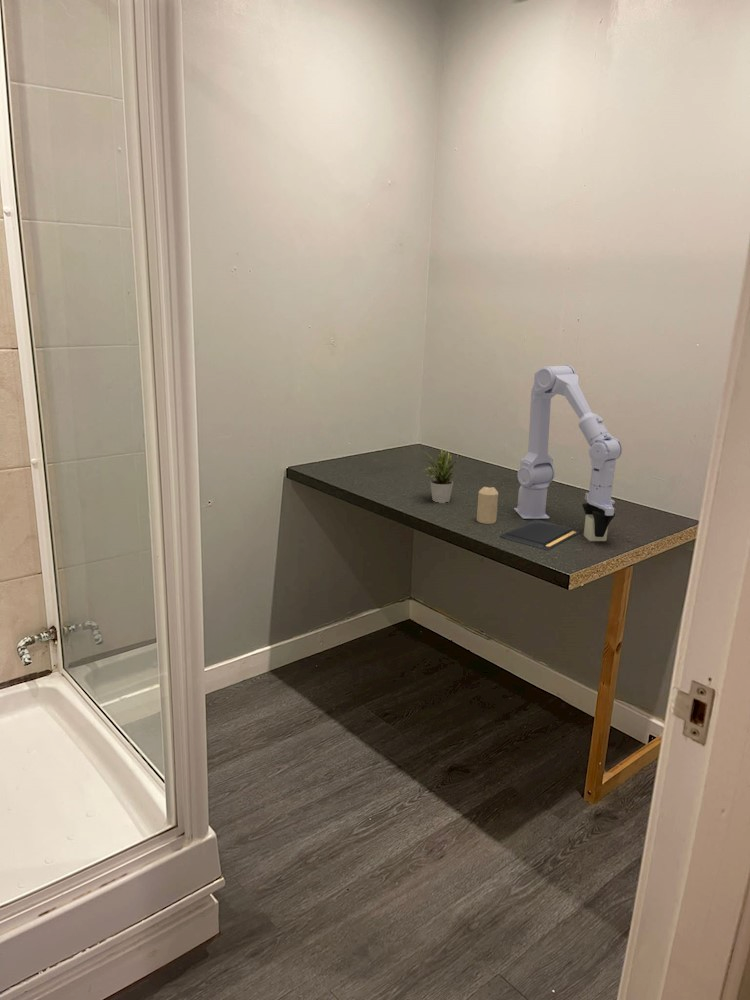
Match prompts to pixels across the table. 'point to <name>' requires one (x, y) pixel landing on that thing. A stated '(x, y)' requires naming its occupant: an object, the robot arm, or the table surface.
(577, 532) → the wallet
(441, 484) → the house plant
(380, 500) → the table surface
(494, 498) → the candle
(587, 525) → the block
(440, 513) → the table surface
